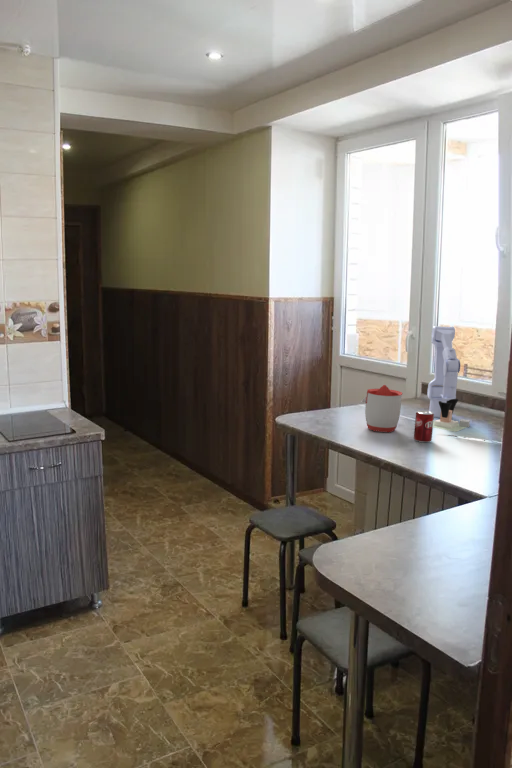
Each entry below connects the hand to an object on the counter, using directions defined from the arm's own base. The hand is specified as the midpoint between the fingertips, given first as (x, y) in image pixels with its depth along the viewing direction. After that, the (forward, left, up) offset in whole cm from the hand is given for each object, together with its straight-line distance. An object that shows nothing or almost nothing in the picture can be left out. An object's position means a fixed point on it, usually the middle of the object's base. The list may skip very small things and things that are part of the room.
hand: (447, 416), depth 292 cm
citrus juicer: (+27, -19, -6) cm, 33 cm away
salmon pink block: (0, 0, -2) cm, 2 cm away
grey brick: (-6, +6, -4) cm, 10 cm away
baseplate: (0, 0, -5) cm, 5 cm away
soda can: (+30, +3, -6) cm, 31 cm away
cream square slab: (0, 0, -4) cm, 4 cm away
